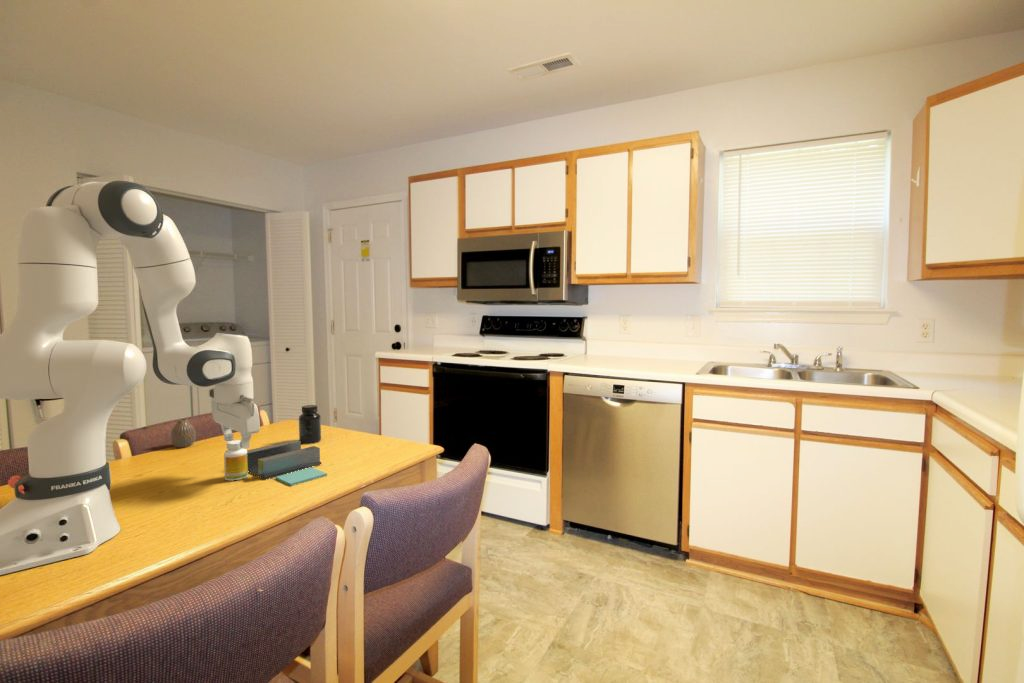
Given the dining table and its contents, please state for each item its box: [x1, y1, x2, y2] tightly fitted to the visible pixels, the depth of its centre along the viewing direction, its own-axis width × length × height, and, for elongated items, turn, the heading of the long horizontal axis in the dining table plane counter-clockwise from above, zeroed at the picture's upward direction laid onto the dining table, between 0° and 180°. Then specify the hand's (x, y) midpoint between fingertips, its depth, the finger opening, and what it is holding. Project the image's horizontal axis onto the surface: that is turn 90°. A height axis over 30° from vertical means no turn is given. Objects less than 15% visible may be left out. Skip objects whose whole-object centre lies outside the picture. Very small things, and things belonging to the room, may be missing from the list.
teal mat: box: [275, 467, 328, 487], centre depth 131 cm, size 10×8×1 cm
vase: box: [169, 418, 197, 449], centre depth 159 cm, size 7×7×9 cm
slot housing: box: [246, 439, 322, 481], centre depth 140 cm, size 16×15×5 cm
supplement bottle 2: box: [298, 404, 322, 444], centre depth 166 cm, size 7×7×12 cm
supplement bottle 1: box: [223, 439, 249, 482], centre depth 130 cm, size 5×5×10 cm
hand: (236, 444), depth 131 cm, fingers open, 8 cm apart
